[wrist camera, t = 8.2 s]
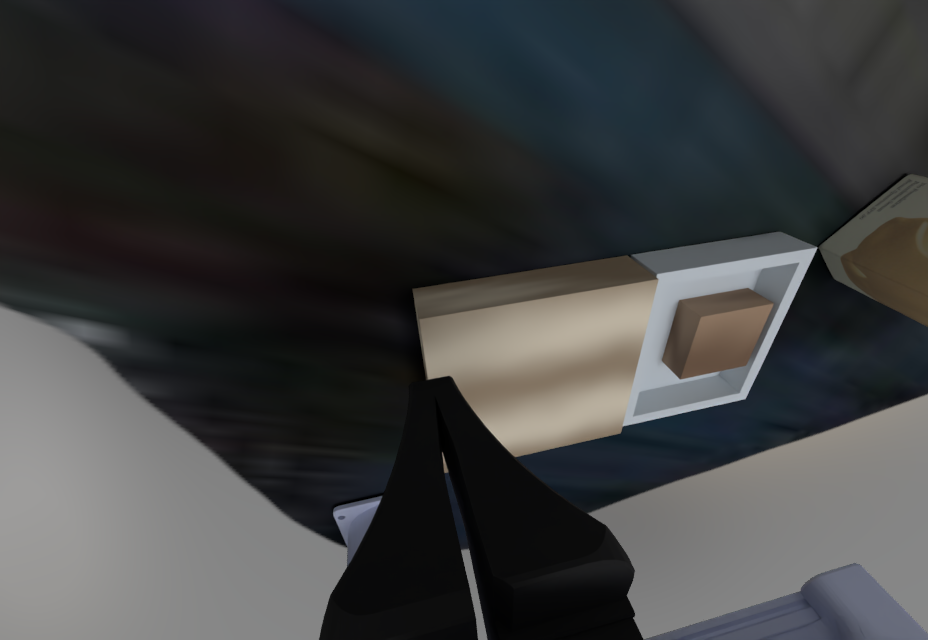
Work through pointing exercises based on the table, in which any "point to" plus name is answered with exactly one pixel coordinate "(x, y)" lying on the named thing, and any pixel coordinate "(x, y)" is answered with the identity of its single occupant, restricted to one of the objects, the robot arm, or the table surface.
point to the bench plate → (541, 348)
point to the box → (704, 273)
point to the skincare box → (887, 249)
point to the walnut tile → (715, 332)
